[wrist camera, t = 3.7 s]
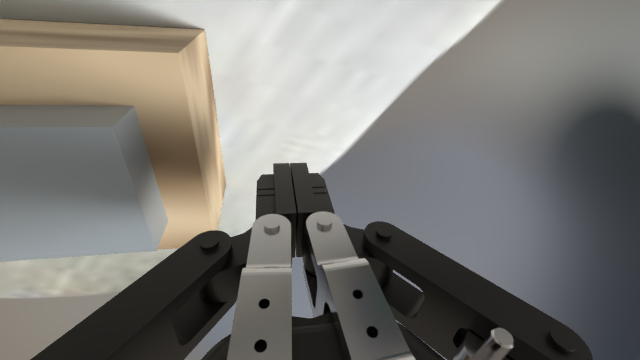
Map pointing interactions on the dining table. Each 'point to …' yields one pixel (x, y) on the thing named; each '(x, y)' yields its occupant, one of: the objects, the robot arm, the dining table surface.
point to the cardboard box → (131, 101)
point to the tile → (76, 183)
